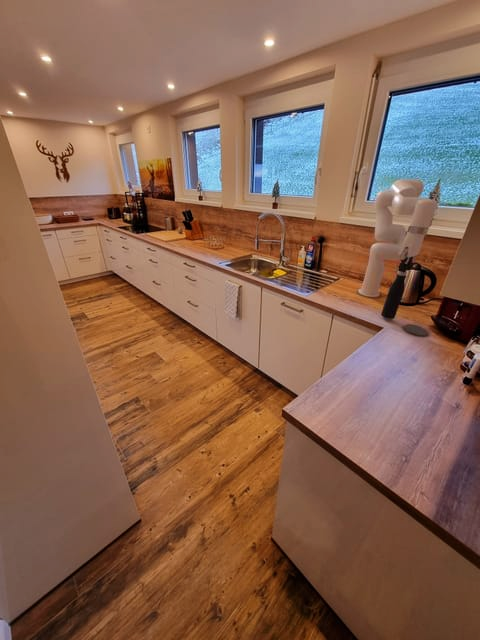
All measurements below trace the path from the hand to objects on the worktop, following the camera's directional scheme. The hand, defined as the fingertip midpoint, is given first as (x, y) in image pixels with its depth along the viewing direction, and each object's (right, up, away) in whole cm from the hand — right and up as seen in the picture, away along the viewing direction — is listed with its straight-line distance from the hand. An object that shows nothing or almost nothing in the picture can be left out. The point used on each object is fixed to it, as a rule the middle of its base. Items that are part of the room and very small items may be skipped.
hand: (403, 270), depth 124 cm
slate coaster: (+8, -29, +3) cm, 30 cm away
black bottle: (-1, -22, +12) cm, 25 cm away
